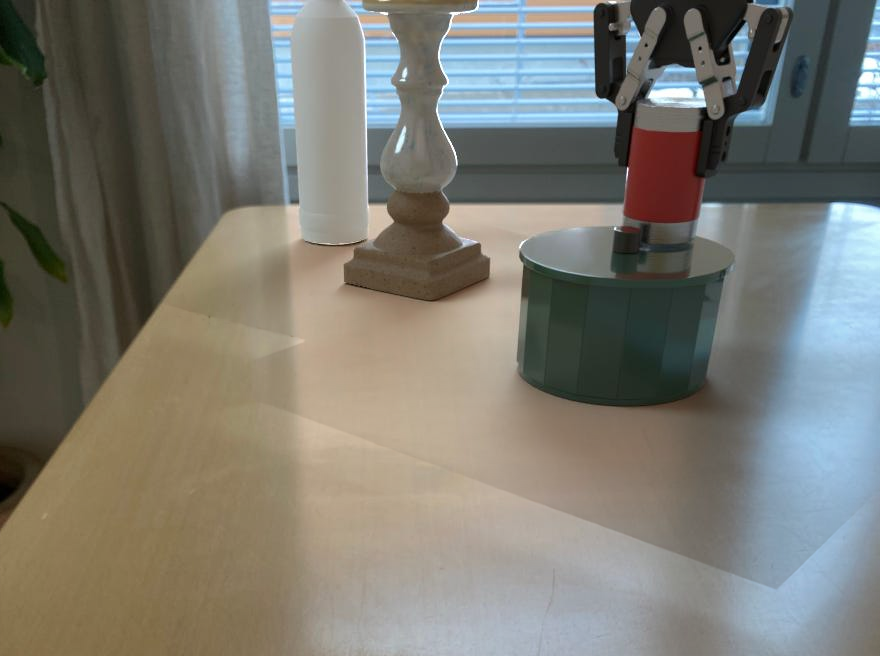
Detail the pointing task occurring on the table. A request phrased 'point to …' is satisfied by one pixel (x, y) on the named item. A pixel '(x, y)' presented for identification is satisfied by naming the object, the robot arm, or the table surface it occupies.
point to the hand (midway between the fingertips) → (666, 170)
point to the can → (665, 170)
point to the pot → (615, 340)
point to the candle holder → (418, 169)
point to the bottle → (330, 122)
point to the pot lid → (624, 258)
